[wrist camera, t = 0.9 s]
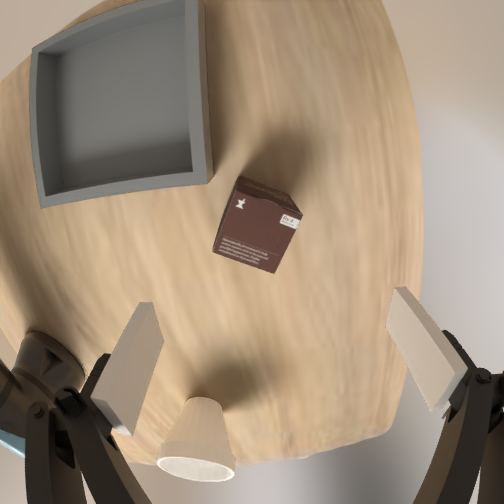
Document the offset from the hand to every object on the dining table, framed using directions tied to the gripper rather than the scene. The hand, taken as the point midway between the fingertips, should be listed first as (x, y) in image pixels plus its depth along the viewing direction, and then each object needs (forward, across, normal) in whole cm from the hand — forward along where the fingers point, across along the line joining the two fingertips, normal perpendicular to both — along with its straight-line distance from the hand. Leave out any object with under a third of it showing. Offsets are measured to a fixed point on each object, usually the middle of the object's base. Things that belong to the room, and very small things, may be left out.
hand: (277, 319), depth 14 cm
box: (+18, -1, +1) cm, 18 cm away
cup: (+17, -12, -34) cm, 40 cm away
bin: (+17, -15, +15) cm, 27 cm away
